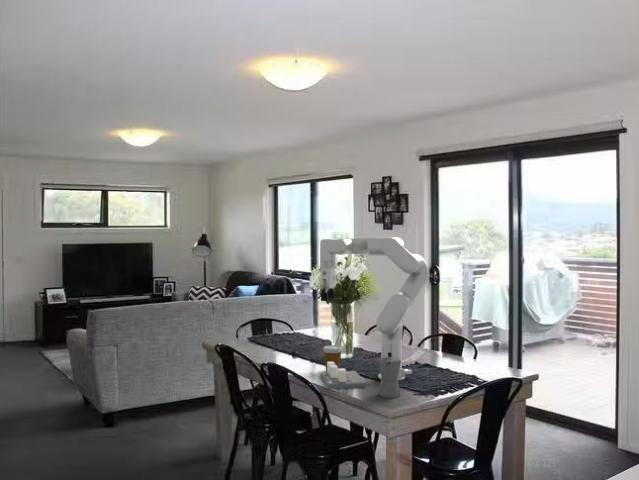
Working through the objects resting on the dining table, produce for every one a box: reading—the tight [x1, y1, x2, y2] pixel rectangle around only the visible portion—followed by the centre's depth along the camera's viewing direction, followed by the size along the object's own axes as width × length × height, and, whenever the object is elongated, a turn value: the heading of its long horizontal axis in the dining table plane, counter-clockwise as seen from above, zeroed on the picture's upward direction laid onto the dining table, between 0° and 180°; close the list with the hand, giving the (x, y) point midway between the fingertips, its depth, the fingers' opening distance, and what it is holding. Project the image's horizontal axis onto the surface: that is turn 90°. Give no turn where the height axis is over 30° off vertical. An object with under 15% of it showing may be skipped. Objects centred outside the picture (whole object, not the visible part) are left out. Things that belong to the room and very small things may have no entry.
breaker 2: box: [330, 365, 338, 378], centre depth 277 cm, size 3×4×5 cm
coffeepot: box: [378, 352, 402, 399], centre depth 257 cm, size 15×9×18 cm, turn 171°
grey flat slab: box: [319, 370, 367, 390], centre depth 278 cm, size 17×22×2 cm
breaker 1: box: [327, 362, 335, 375], centre depth 284 cm, size 3×4×5 cm
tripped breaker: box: [338, 367, 347, 382], centre depth 271 cm, size 3×4×5 cm
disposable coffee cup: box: [322, 344, 343, 372], centre depth 297 cm, size 10×10×12 cm
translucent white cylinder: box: [402, 349, 425, 367], centre depth 312 cm, size 6×6×25 cm
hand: (327, 299), depth 295 cm, fingers open, 9 cm apart
